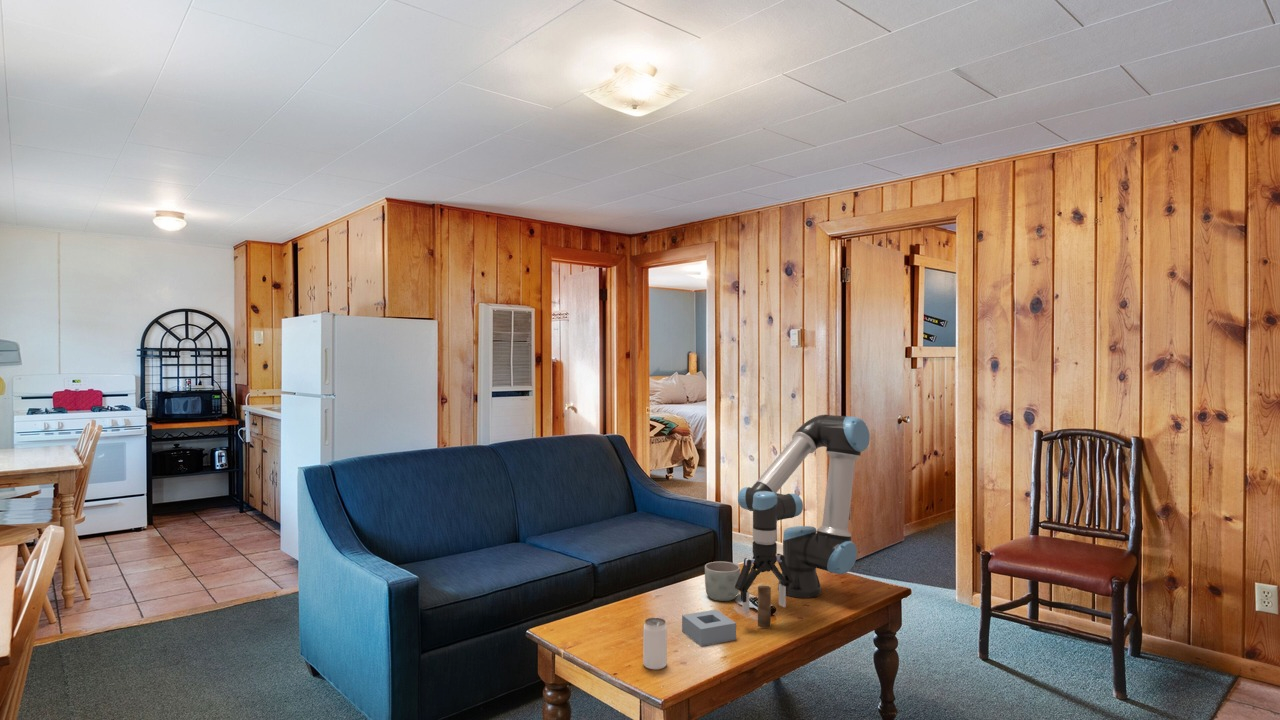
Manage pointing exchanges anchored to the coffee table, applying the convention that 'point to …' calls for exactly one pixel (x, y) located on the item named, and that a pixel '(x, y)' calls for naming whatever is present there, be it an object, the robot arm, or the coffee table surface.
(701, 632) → the socket
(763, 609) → the dowel
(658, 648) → the can
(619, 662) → the coffee table surface
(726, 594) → the planter
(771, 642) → the coffee table surface
